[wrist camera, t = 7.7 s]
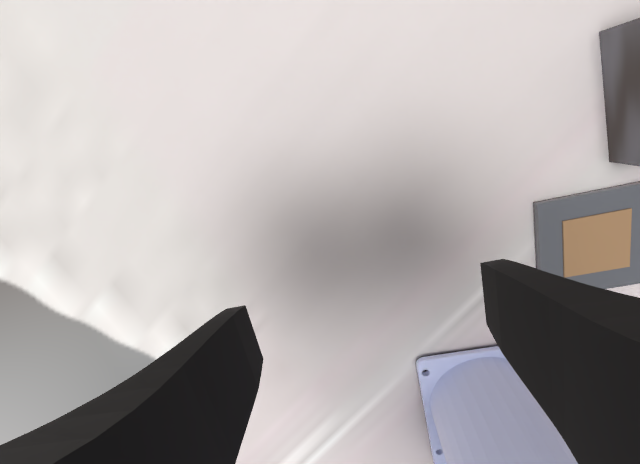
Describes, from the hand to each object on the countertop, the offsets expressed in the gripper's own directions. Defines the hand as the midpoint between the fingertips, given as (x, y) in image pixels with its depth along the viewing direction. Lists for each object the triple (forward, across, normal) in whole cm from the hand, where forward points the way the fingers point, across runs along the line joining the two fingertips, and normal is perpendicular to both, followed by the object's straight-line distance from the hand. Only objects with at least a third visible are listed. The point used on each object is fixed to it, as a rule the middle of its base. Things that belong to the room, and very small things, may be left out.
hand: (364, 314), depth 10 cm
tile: (+10, -13, +4) cm, 17 cm away
